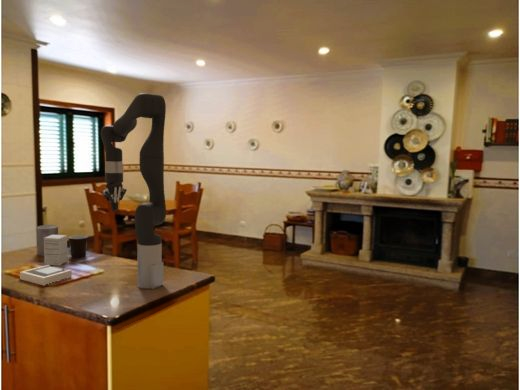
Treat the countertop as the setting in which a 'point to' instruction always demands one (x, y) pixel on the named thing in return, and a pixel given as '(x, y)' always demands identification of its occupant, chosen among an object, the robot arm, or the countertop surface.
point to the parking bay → (31, 277)
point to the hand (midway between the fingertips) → (114, 210)
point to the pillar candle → (42, 233)
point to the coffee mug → (78, 246)
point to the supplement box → (55, 249)
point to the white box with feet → (48, 271)
